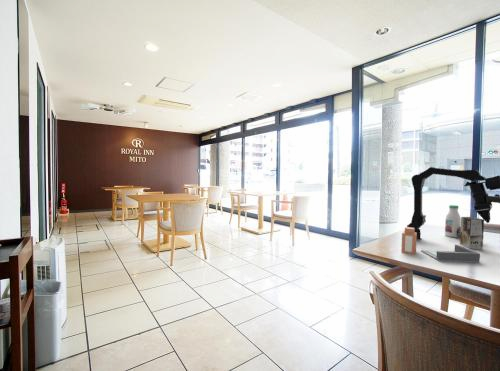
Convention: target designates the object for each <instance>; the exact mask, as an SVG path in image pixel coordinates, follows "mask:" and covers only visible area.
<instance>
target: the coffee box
mask: <svg viewBox="0 0 500 371" xmlns="http://www.w3.org/2000/svg"><path fill="white" fill-rule="evenodd" d="M460 218H461V234H460V239H459V245H460V246H462V247H464V248H467V249H469V250H473V249H474V250H475V249H476V250H483V245H484V244H483V243H484V231H485V230H484V228H485V227H484V226H485V220H484V219H483V218H478V217H475V216H460Z"/></svg>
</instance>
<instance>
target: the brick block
mask: <svg viewBox="0 0 500 371" xmlns="http://www.w3.org/2000/svg"><path fill="white" fill-rule="evenodd" d="M417 243H418V242H417V233H416V232H415V228H411V227H407V226H405V227H404V230H403V231H402V232H401V250H400V251H401V253H403V254H409V255H415V256H416V253H417Z"/></svg>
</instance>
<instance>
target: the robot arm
mask: <svg viewBox="0 0 500 371" xmlns="http://www.w3.org/2000/svg"><path fill="white" fill-rule="evenodd" d="M432 175H441V176H446V177H447V176H449V177H457V178H460V179H464V180H468V181H466V183H465V184H464V187H469V189H470V193H471V195H472V196H471V197H472V198H473V201H474V206H473V208H474V211H475V212H476V213H477V214H478V215H479V217H481V219H483V220H484V222H486V223H487V224H488V223H489V224H490V221H491V210H492V208H493V203H495V204H496V203H498V204H500V194H499V193H498V194H494V195H489V194H488V193H487V190H489V191H495V190H500V175H495V176H491V177H485V176H483V175H481V173H480V171H478V170H477V169H463V170H460V169H458V170H457V169H450V168H448V169H447V168H437V167H433V166H432V167H430V166H429V168H428V169H426V170H424V171H422V172H420V173H418V174H414V175H413V176H411V184H412V187H413V200H414V201H413V213H412V217H411V221H410V223H409V224H407V225H406V227H411V228H415V232H416V233H417V240H423V238H421V233H422V232H421V229H420V228H421V227H422V226H423V225H424V224H425V223H426V222H427V220H426V217H427V216H426V214H423V189H424V186H425V182H426V180H427V179H428V178H430V177H431V176H432ZM469 181H470V182H469ZM478 181H479V182H478Z"/></svg>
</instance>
